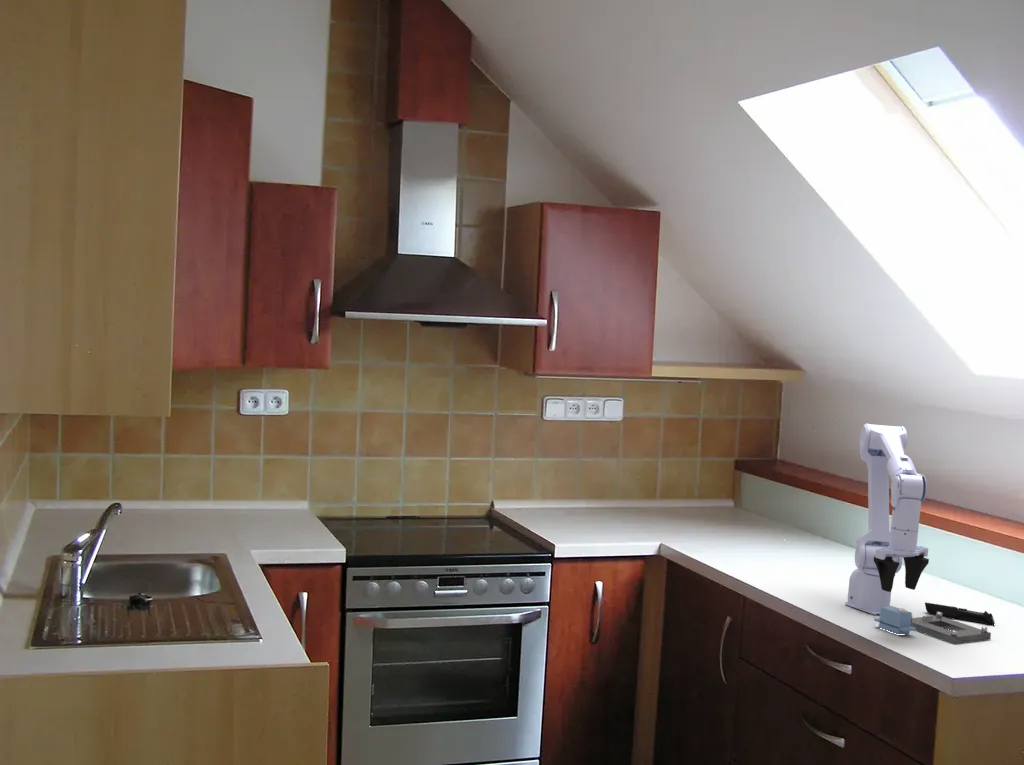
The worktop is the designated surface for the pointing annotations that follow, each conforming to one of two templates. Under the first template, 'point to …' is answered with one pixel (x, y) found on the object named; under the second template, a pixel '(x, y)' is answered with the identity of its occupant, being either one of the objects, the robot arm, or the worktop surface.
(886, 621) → the servo
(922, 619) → the plate
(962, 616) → the electric trimmer
